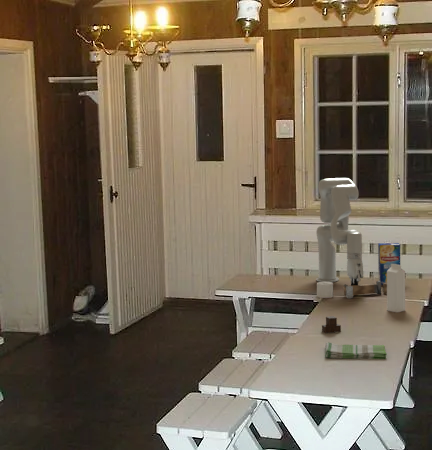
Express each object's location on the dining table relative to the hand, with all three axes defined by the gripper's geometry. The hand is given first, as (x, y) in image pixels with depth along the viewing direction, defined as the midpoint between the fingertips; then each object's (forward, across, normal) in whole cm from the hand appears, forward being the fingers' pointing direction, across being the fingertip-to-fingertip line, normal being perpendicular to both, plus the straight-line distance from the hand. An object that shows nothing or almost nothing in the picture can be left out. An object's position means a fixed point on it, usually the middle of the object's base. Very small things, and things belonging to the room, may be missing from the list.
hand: (354, 290), depth 434 cm
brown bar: (+1, -4, -1) cm, 4 cm away
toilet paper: (+2, +4, +14) cm, 15 cm away
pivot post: (+2, -4, -12) cm, 13 cm away
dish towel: (+2, -100, +50) cm, 112 cm away
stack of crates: (+2, -68, +44) cm, 81 cm away
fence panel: (+2, -4, -19) cm, 20 cm away
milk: (+2, -42, 0) cm, 42 cm away
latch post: (+2, -7, +6) cm, 10 cm away
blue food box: (+2, +18, -30) cm, 35 cm away
